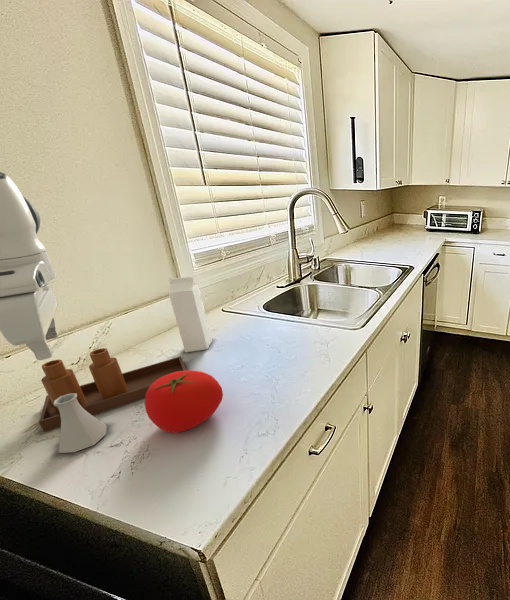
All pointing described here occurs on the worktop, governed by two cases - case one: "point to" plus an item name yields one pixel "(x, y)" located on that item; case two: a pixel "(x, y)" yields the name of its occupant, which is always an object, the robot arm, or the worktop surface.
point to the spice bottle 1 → (61, 382)
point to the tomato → (182, 400)
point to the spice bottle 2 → (107, 374)
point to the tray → (137, 390)
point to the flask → (77, 425)
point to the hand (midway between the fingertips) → (49, 347)
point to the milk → (189, 314)
